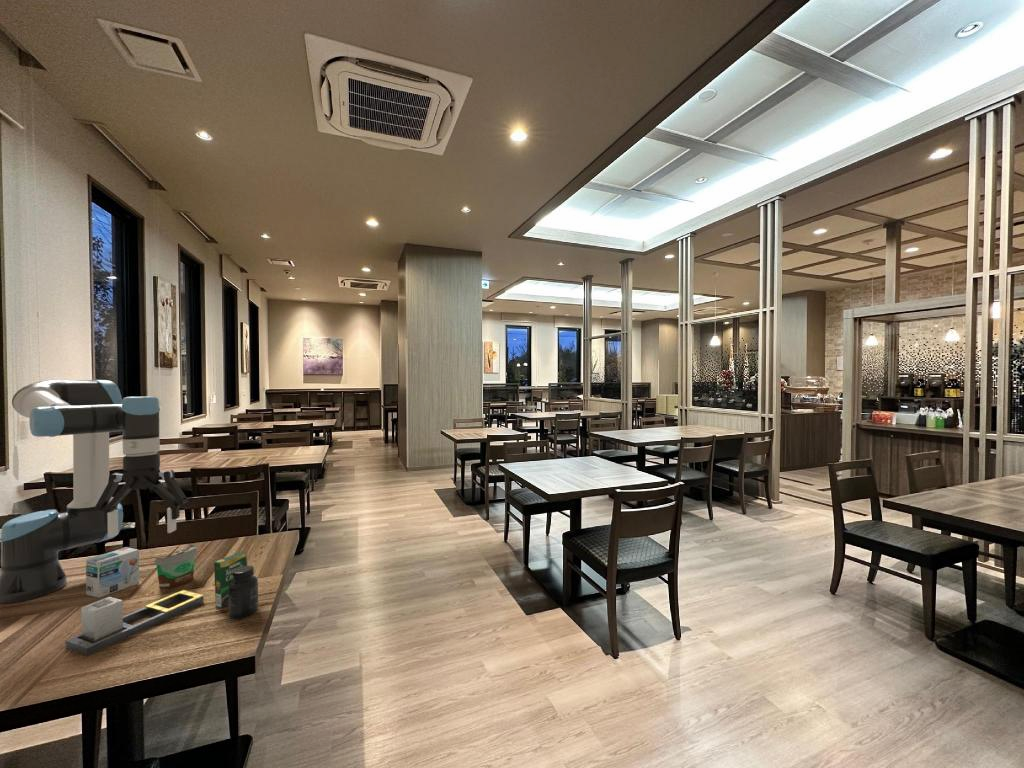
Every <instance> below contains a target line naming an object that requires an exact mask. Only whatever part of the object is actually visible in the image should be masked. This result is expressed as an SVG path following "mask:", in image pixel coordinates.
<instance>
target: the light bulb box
mask: <svg viewBox="0 0 1024 768" xmlns="http://www.w3.org/2000/svg"><path fill="white" fill-rule="evenodd" d="M85 562H86V563H85V578H86V579H85V582H86V583H85V585H86V586H85V587H86V588H85V593H86V596H91V597H95V598H97V599H100V598H102V597H105V596H108V595H110V594H114V593H116V592H119V591H122V590H124V589H127V588H130V587H132V586H135V585H137V584H139V583H140V550H139V549H137V548H133V547H132V548H131V547H128V546H125V547H122V548H120V549H116V550H112V551H110V552H107V553H103V554H100V555H96V556H93V557H90V558H86V559H85Z"/></svg>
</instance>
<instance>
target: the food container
mask: <svg viewBox="0 0 1024 768" xmlns="http://www.w3.org/2000/svg"><path fill="white" fill-rule="evenodd" d="M198 552H199V551H198V548H197V546H196V545H195V544H192V543H190V544H189V547H186V548H185V549H182V550H177V551H174V552H172V553H169V554H168V555H167V556H165V557H155V559H154V564H153V565H154V566H156V572H157V579H158V587H159V590H169V589H175V588H178V587H181V586H184V585H187V584H189V583H190V582H192V581H193V579H194V572H195V571H194V570H195V561H196V555H198Z"/></svg>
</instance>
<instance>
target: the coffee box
mask: <svg viewBox="0 0 1024 768" xmlns="http://www.w3.org/2000/svg"><path fill="white" fill-rule="evenodd" d="M247 559H248V558H247V552H244V551H238V552H236V553H234V554H232V555H229V556H227V557H224V558H221V559H219V560H216V561H214V563H213V565H214V589H215V590H214V594H215V598H214V599H215V601H214V602H215V608H217V609H221V610H222V609H224V608H226V607H229V584H230V582H231V581H232V580H233V571H234V570H235V569H236V568H239V567H243V566H248V562H247V561H248V560H247Z"/></svg>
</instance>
